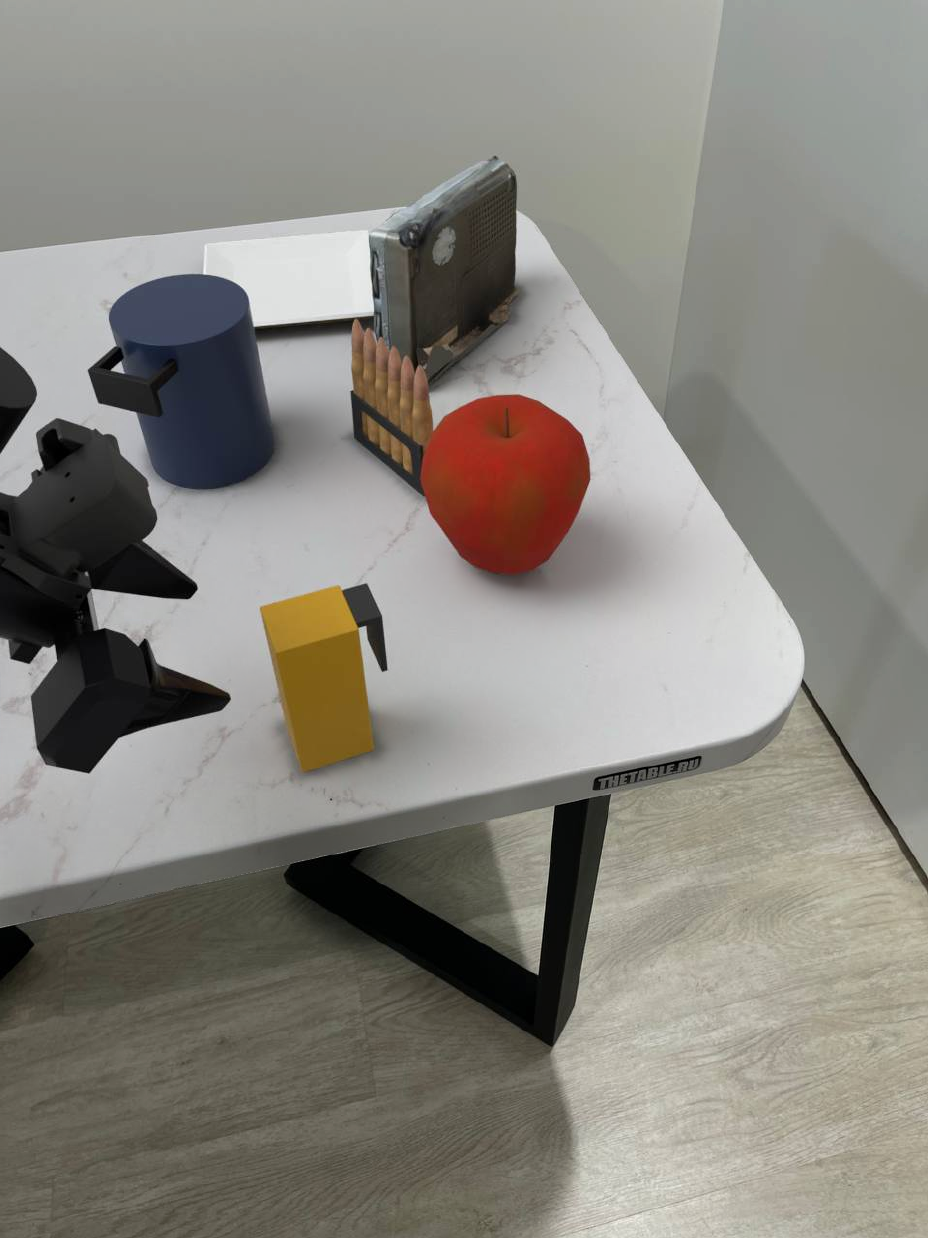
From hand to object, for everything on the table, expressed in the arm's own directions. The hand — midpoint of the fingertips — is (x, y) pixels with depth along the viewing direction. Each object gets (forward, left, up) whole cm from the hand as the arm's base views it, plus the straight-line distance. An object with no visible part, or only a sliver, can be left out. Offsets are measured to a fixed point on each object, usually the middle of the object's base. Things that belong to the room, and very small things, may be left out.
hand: (209, 644), depth 58 cm
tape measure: (+6, 0, -12) cm, 13 cm away
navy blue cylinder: (+2, +34, -12) cm, 36 cm away
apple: (+23, +14, -12) cm, 29 cm away
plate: (+15, +60, -12) cm, 63 cm away
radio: (+28, +48, -12) cm, 57 cm away
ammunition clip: (+18, +28, -12) cm, 36 cm away
